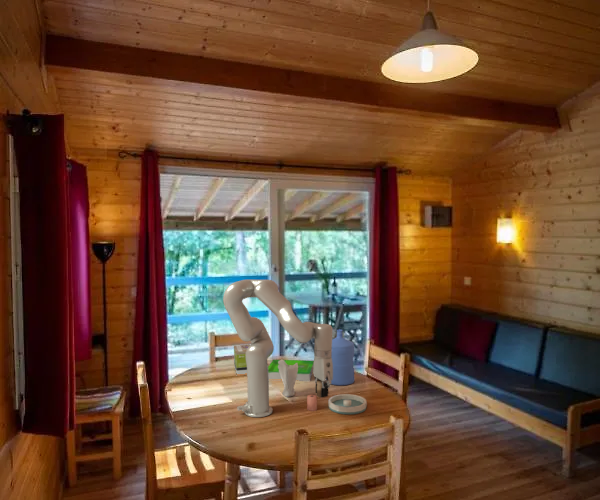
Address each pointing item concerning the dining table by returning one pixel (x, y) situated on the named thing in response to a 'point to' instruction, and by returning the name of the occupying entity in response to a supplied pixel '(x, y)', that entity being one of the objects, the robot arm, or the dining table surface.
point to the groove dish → (347, 404)
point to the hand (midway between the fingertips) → (321, 394)
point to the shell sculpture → (288, 377)
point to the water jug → (342, 360)
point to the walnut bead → (319, 388)
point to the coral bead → (312, 402)
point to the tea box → (240, 358)
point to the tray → (303, 365)
